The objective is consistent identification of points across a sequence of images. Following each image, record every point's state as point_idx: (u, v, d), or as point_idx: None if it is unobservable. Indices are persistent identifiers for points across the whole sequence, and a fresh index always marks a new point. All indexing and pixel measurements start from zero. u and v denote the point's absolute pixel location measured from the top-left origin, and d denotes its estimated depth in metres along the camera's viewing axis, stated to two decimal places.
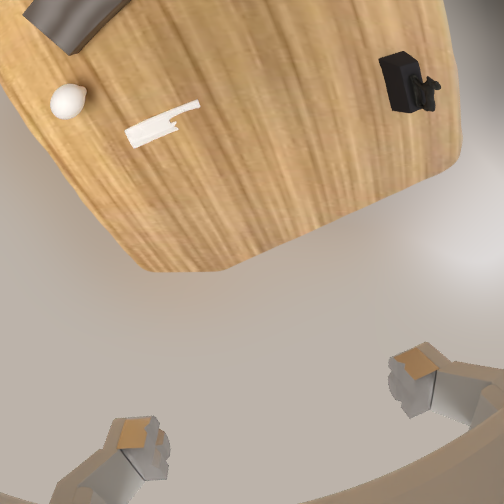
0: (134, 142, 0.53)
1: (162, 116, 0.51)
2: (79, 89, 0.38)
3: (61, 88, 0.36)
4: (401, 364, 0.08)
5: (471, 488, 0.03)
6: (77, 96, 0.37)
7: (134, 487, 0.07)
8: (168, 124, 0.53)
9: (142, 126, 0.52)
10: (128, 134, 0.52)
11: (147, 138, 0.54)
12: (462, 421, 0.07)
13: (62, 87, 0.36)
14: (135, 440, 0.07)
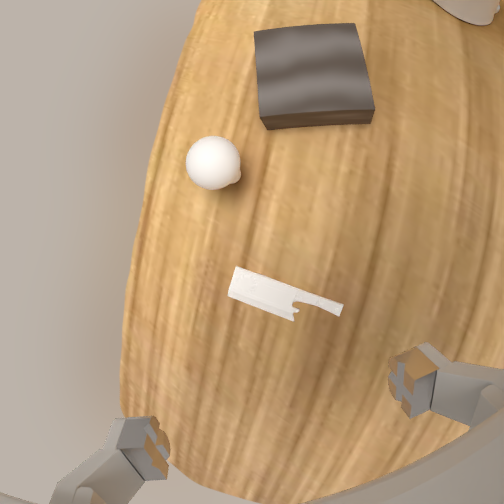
0: (234, 289, 0.41)
1: (289, 290, 0.40)
2: (238, 161, 0.32)
3: (221, 138, 0.32)
4: (401, 364, 0.08)
5: (471, 488, 0.03)
6: (229, 166, 0.31)
7: (134, 487, 0.07)
8: (288, 305, 0.40)
9: (259, 281, 0.41)
10: (236, 275, 0.41)
11: (251, 299, 0.41)
12: (462, 421, 0.07)
13: (223, 139, 0.32)
14: (135, 440, 0.07)
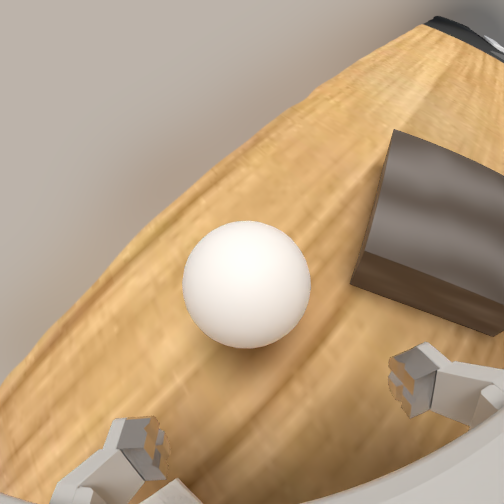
0: None
1: None
2: (302, 311, 0.14)
3: (294, 243, 0.14)
4: (401, 364, 0.08)
5: (471, 488, 0.03)
6: (285, 311, 0.12)
7: (134, 487, 0.07)
8: None
9: None
10: (168, 490, 0.16)
11: None
12: (462, 421, 0.07)
13: (297, 246, 0.14)
14: (135, 440, 0.07)
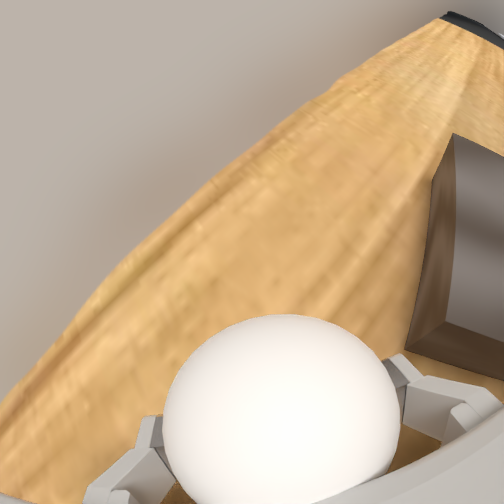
0: None
1: None
2: None
3: (380, 362, 0.06)
4: None
5: (471, 488, 0.03)
6: None
7: (166, 486, 0.07)
8: None
9: None
10: None
11: None
12: (435, 437, 0.07)
13: None
14: None
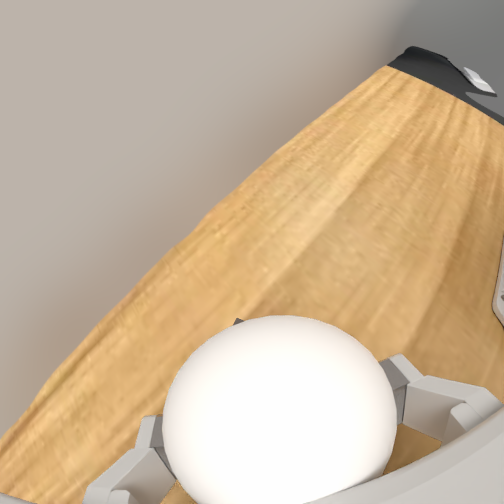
0: None
1: None
2: None
3: (377, 364, 0.06)
4: None
5: (471, 488, 0.03)
6: None
7: (166, 486, 0.07)
8: None
9: None
10: None
11: None
12: (435, 437, 0.07)
13: (380, 368, 0.07)
14: None
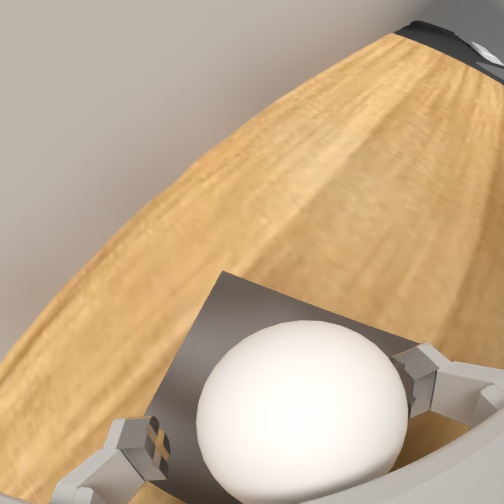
0: None
1: None
2: None
3: (393, 368, 0.07)
4: (401, 364, 0.08)
5: (471, 488, 0.03)
6: None
7: (134, 487, 0.07)
8: None
9: None
10: None
11: None
12: (462, 421, 0.07)
13: (396, 371, 0.07)
14: (135, 440, 0.07)
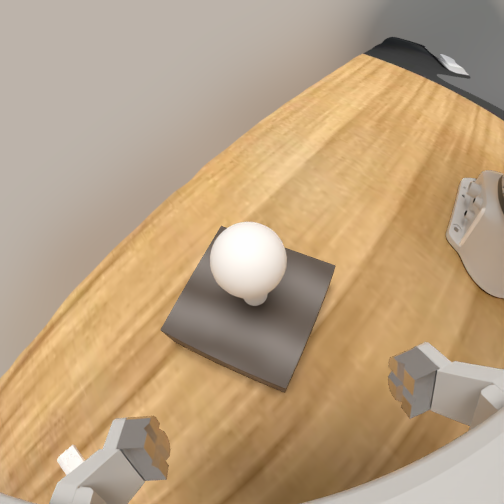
0: (62, 460, 0.26)
1: None
2: (279, 276, 0.23)
3: (277, 236, 0.24)
4: (401, 364, 0.08)
5: (471, 488, 0.03)
6: (268, 274, 0.22)
7: (134, 487, 0.07)
8: None
9: None
10: (69, 451, 0.27)
11: None
12: (462, 421, 0.07)
13: (279, 238, 0.24)
14: (135, 440, 0.07)
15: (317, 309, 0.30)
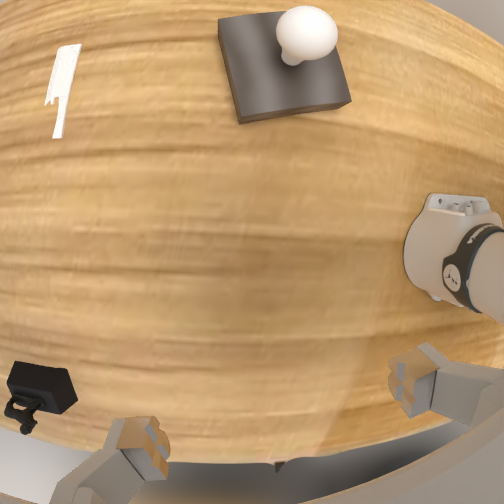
0: (63, 50, 0.32)
1: (66, 90, 0.33)
2: (310, 56, 0.25)
3: (335, 40, 0.23)
4: (401, 364, 0.08)
5: (471, 488, 0.03)
6: (305, 47, 0.23)
7: (134, 487, 0.07)
8: (54, 94, 0.33)
9: (71, 64, 0.33)
10: (74, 46, 0.32)
11: (57, 65, 0.32)
12: (462, 421, 0.07)
13: (335, 42, 0.24)
14: (135, 440, 0.07)
15: (311, 104, 0.34)
